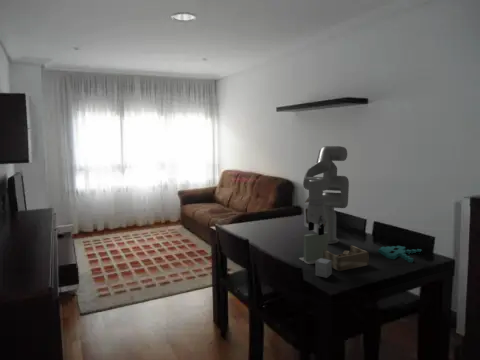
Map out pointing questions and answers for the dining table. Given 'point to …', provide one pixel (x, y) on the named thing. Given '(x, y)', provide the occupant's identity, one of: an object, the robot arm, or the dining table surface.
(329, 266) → the skincare box
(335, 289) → the dining table surface
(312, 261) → the felt mat
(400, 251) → the alien figure
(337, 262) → the brown wooden open box
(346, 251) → the offcut top
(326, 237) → the sheet
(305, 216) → the gable box
